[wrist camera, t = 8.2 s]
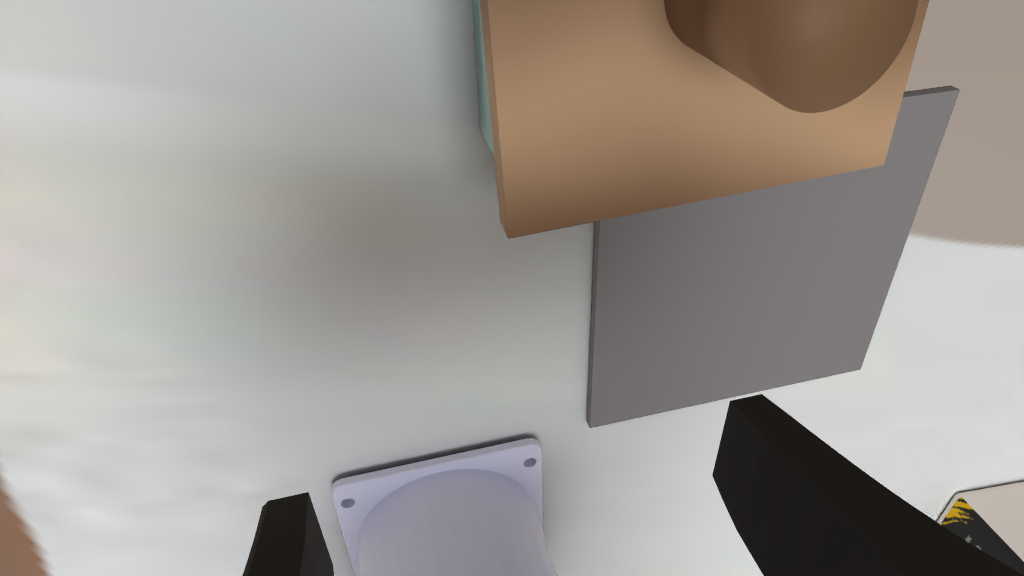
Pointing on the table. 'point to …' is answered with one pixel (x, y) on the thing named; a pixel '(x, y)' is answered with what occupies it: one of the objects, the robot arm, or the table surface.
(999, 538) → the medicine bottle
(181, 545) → the table surface
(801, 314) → the mat
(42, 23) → the table surface
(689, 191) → the lid
